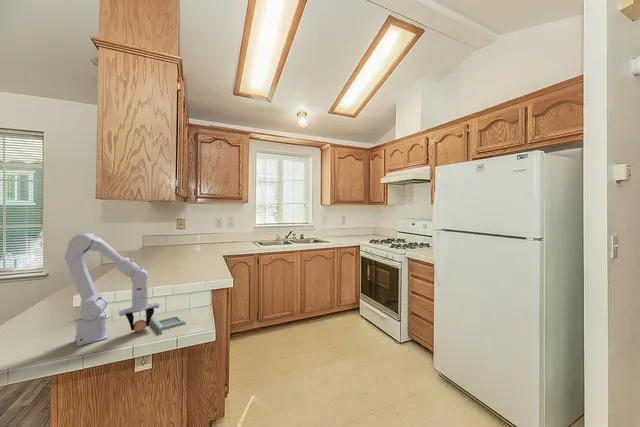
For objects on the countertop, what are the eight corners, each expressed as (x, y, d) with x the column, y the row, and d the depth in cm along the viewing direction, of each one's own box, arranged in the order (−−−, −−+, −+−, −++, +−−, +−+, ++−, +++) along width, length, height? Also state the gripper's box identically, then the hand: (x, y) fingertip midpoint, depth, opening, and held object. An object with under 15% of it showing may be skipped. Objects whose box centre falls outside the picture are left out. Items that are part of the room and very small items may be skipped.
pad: (159, 330, 119) (159, 328, 119) (153, 323, 127) (153, 320, 127) (186, 323, 127) (186, 321, 127) (178, 317, 134) (178, 314, 134)
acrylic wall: (159, 334, 116) (159, 328, 116) (148, 320, 130) (148, 315, 130) (162, 333, 116) (162, 327, 116) (150, 319, 131) (150, 314, 131)
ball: (134, 335, 115) (134, 323, 115) (131, 331, 118) (131, 320, 118) (147, 331, 118) (147, 320, 118) (145, 327, 122) (145, 316, 122)
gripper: (121, 303, 110) (121, 336, 110) (161, 295, 120) (160, 325, 120) (118, 299, 115) (118, 330, 115) (156, 292, 125) (156, 321, 125)
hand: (139, 327), depth 118 cm, fingers closed on ball, 5 cm apart
